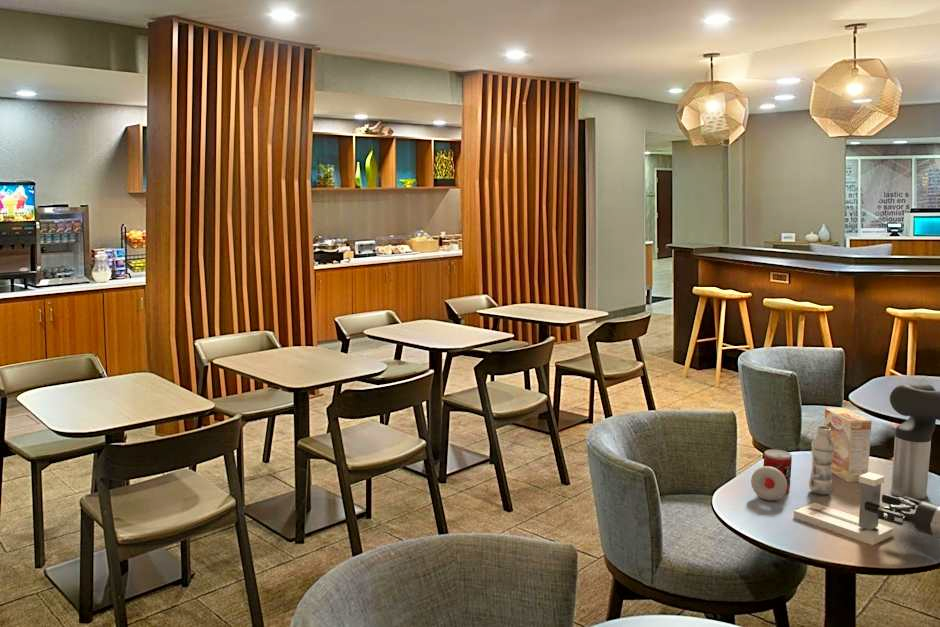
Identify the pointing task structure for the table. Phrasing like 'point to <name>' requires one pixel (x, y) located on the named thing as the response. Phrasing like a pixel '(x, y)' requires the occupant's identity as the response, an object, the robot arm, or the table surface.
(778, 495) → the donut
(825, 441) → the plastic bottle
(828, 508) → the fader deck
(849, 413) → the coffeecake box
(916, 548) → the table surface
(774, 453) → the canned food
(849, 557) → the table surface
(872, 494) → the slider knob
